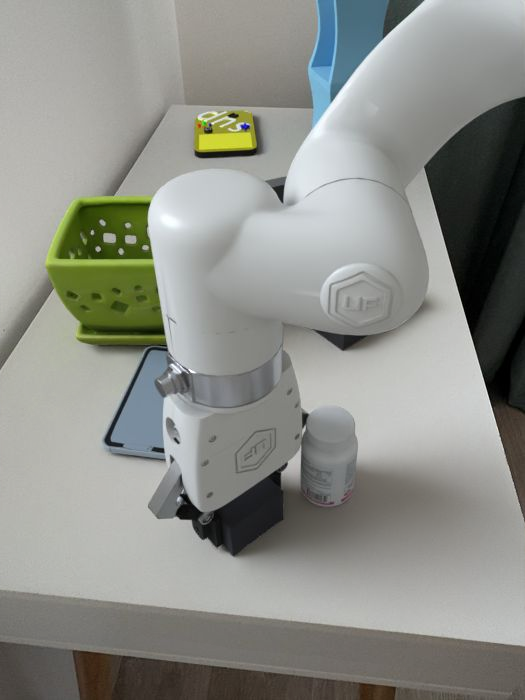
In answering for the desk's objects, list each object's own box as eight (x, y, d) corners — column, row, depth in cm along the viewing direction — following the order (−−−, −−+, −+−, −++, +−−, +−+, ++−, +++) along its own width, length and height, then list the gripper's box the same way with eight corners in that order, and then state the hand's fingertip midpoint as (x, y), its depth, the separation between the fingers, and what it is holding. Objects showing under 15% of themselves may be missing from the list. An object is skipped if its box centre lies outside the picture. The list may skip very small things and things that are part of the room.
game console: (259, 155, 108) (259, 146, 107) (194, 159, 107) (194, 150, 106) (251, 115, 121) (251, 107, 120) (193, 118, 121) (193, 110, 120)
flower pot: (68, 359, 70) (38, 263, 61) (94, 285, 80) (72, 194, 72) (194, 358, 69) (181, 261, 61) (204, 284, 80) (194, 193, 71)
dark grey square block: (244, 479, 57) (242, 451, 54) (283, 519, 54) (284, 491, 51) (194, 513, 54) (190, 485, 52) (233, 557, 51) (230, 529, 49)
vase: (306, 137, 113) (310, -21, 96) (356, 130, 115) (369, -27, 98) (326, 160, 106) (335, -7, 89) (380, 151, 108) (398, -13, 91)
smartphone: (211, 351, 69) (174, 455, 58) (211, 357, 70) (175, 462, 58) (146, 344, 70) (97, 446, 59) (147, 351, 71) (99, 453, 59)
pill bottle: (338, 458, 59) (344, 395, 53) (362, 498, 55) (371, 435, 50) (291, 474, 57) (292, 410, 52) (313, 515, 54) (316, 453, 48)
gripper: (146, 458, 36) (180, 609, 48) (357, 331, 44) (341, 487, 56) (83, 387, 40) (129, 541, 52) (286, 283, 48) (285, 438, 60)
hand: (238, 512), depth 54 cm, fingers closed on dark grey square block, 5 cm apart
